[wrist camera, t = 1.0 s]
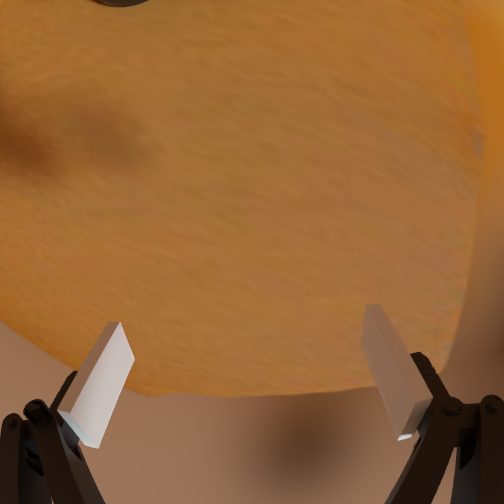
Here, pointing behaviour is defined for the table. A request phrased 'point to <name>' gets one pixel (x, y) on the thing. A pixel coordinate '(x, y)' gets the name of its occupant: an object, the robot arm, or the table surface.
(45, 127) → the table surface
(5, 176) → the table surface
